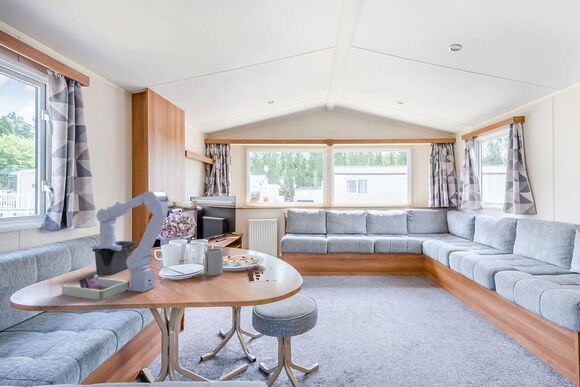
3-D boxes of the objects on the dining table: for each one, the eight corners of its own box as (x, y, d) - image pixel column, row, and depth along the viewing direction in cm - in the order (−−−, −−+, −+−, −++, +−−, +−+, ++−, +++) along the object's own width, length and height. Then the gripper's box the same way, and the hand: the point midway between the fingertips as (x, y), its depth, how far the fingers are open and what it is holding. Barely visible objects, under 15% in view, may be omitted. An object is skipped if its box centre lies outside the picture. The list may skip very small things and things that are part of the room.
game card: (80, 279, 124) (98, 273, 132) (70, 282, 124) (88, 276, 133) (85, 295, 123) (102, 288, 132) (75, 298, 124) (93, 291, 133)
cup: (225, 270, 162) (225, 248, 162) (219, 275, 153) (219, 252, 153) (208, 270, 163) (208, 248, 163) (202, 275, 154) (202, 251, 154)
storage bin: (117, 265, 173) (117, 240, 173) (142, 266, 171) (142, 241, 171) (88, 275, 152) (88, 247, 152) (115, 276, 150) (115, 248, 150)
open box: (129, 289, 132) (129, 281, 132) (101, 300, 118) (101, 291, 118) (92, 284, 138) (92, 276, 138) (61, 294, 124) (61, 286, 124)
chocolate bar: (246, 268, 169) (246, 266, 169) (270, 267, 171) (270, 265, 171) (248, 283, 142) (248, 280, 142) (276, 281, 145) (276, 279, 145)
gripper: (127, 234, 137) (127, 264, 137) (102, 233, 141) (102, 262, 141) (114, 237, 130) (114, 268, 130) (88, 235, 134) (88, 265, 134)
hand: (107, 265), depth 135 cm, fingers closed
